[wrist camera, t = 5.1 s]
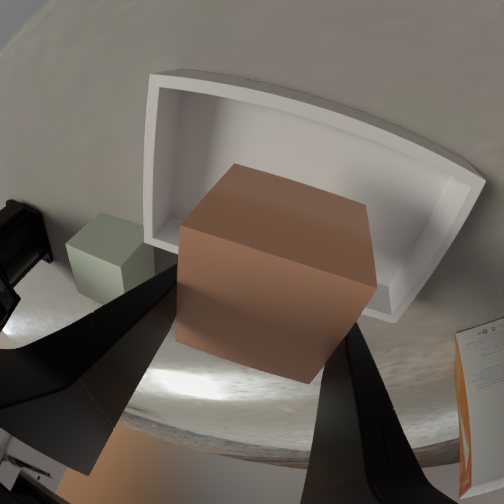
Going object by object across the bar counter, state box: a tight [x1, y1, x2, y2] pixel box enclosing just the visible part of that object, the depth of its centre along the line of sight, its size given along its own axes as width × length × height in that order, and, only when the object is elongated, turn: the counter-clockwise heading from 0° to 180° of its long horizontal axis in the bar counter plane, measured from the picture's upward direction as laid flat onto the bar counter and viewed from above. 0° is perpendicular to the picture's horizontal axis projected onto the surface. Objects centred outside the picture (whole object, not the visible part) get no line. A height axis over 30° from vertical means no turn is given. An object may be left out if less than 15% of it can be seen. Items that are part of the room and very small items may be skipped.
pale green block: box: [65, 212, 155, 305], centre depth 21 cm, size 5×5×4 cm
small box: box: [454, 318, 504, 499], centre depth 15 cm, size 8×6×13 cm
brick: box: [176, 163, 377, 384], centre depth 10 cm, size 5×5×4 cm
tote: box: [143, 69, 486, 324], centre depth 15 cm, size 10×16×3 cm, turn 79°
